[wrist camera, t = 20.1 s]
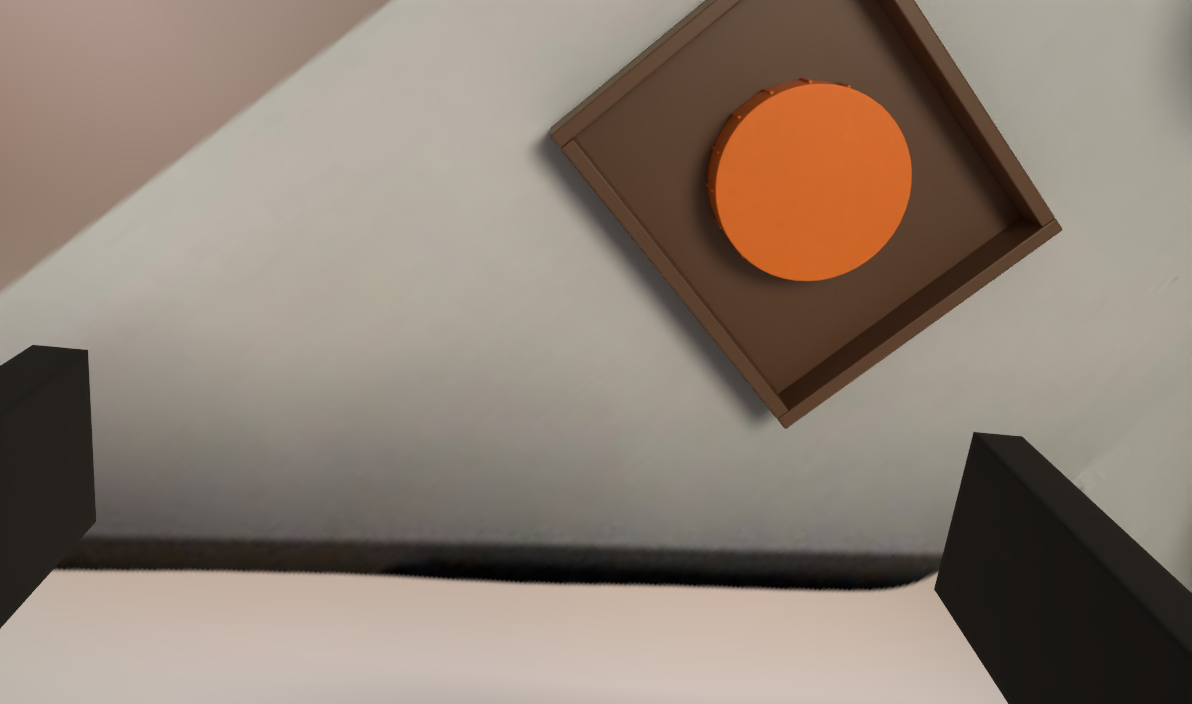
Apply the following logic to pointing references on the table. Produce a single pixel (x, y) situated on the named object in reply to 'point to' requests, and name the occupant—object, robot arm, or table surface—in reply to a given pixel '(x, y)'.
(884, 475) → the table surface
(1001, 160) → the tray
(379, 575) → the table surface
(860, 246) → the lid
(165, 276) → the table surface
